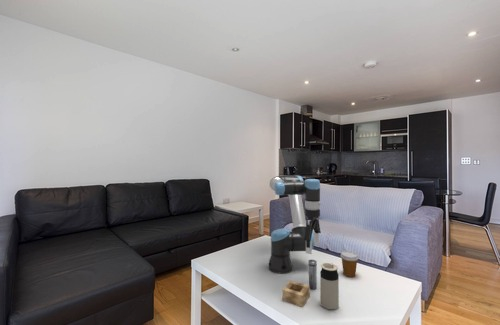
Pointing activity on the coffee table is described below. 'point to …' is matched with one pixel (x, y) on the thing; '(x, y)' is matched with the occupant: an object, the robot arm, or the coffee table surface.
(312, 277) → the metal canister
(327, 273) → the travel mug
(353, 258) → the disposable coffee cup
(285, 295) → the square frame
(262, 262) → the coffee table surface
